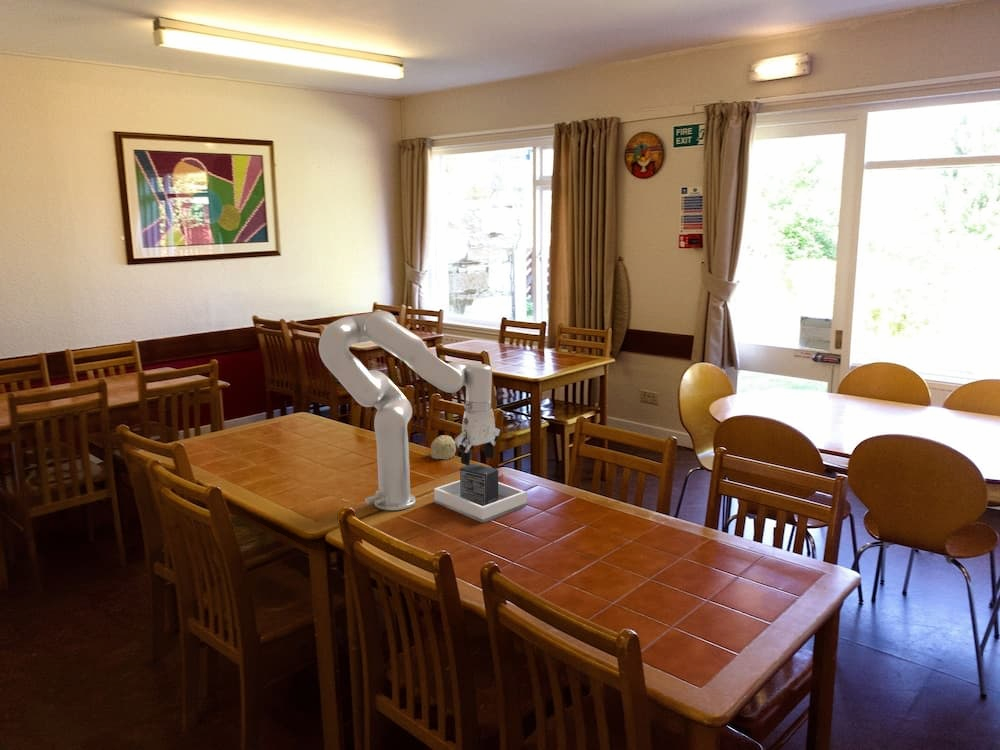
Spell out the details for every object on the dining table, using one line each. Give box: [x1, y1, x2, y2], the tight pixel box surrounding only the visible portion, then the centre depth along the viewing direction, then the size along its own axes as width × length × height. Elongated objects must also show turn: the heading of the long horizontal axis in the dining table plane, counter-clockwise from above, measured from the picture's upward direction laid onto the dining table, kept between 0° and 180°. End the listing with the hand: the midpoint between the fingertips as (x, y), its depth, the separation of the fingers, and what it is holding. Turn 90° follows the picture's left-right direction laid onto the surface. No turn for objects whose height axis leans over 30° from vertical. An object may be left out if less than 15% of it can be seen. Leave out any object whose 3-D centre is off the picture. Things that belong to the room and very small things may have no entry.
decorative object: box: [430, 434, 457, 460], centre depth 263 cm, size 9×10×10 cm
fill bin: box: [433, 479, 527, 524], centre depth 217 cm, size 18×22×4 cm
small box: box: [459, 463, 499, 506], centre depth 217 cm, size 11×6×10 cm, turn 53°
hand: (477, 460), depth 215 cm, fingers open, 9 cm apart
